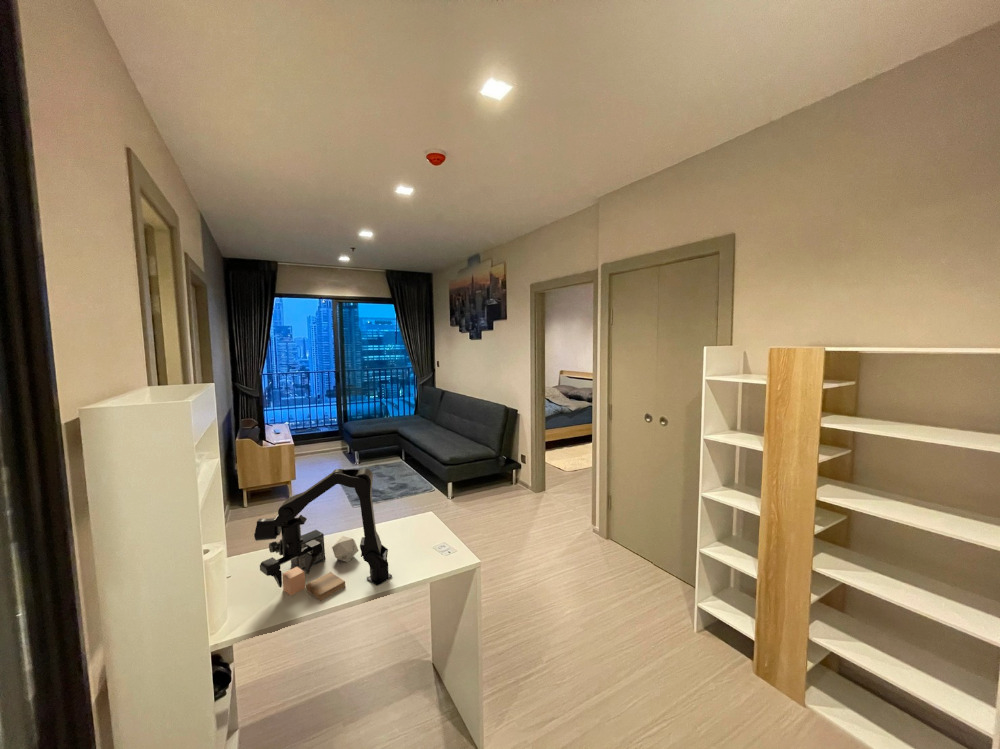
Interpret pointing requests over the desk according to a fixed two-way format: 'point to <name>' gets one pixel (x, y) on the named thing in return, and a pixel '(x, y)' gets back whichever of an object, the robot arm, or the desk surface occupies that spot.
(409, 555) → the desk surface
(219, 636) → the desk surface
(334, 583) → the walnut slab
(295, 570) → the terracotta cube
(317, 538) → the small box
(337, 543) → the die
